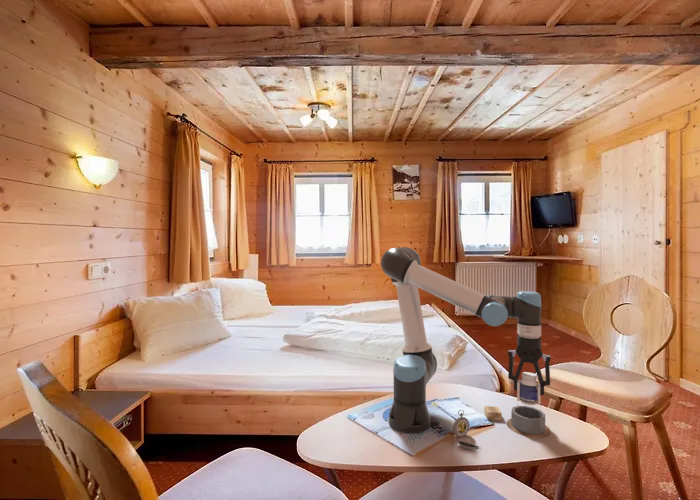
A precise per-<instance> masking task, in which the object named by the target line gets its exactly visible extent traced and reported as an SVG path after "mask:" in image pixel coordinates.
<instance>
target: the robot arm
mask: <svg viewBox="0 0 700 500" xmlns="http://www.w3.org/2000/svg"><path fill="white" fill-rule="evenodd" d="M380 268H381V270H382V271H383V273H384V274H385V275H386V276H387V277H389V278H390V281H391V283H392V284H393V285H394V286H395V288H396V293H397V299H398V300H397V301H398V306H399V313H400V320H401V325H402V331H403V332H402V333H403V337H404V338H403V339H404V346H403V348H402V350H401V351H402V355H401V356H399V357H397V358H396V359H395V360H394V362H393V367H392V370H393V402H392V404H391V408H390V411H389V413H388V423H389V426H390V427H391V428H393V429H394V430H396V431H397V432H398V431H399V432H401V433H405V434H420V433H423V432H426V431H428V430H429V429H430V428H431V426H432V425H431V423H432V422H431V421H432V420H431V416H430V413H429V409H428V406H427V403H426V401H427V400H426V398H427V384H428V383H429V381H430V380H432V378H433V377H434V376H435V374H436V372H437V368H438V361H437V357H436V355H435V354H434V352H433V349H432V345H431V344H430V343H428V342H427V341H428V340H427V335H426V329H425V325H424V324H425V323H424V322H425V321H424V317H423V311H422V305H421V299H420V293H419V292H420V291H419V289H420V290H423V291H424V292H426V293H429V294H431V295H433V296H435V297H436V298H439V299H441V300H444V301H446V302H448V303H449V304H451V305H453V306H455V307H457V308H459V309H461V310H464V311H466V312H468V313H470V314H472V315H475V316H476V317H478V318H479V319H480V318H481V319H482V320H483V321H484V322H485V323H486V324H487V326H492V327H498V326H501V325H503V324H504V323H505V322H506V321H507V320H508V318H510V319H511V318H512V319H517V322H516V323H517V324H516V328H517V330H516V334H518V335H517V336H516V338H517V339H516V342H517V343H516V344H517V345H516V346H517V347H516V349H514V350H512V349H509V350H508V352H507V354H508V358H509V360H508V375H507V376H508V377H507V378H508V379H509V380H512V381H513V390H514V391H515V392H517V393H516V400H517V402H521V401H520V380H521V379H520V380H519V378H520V375H521V373H522V368H523V367H524V364H525V363H529V364H533V367H534V370H535V374H536V377H537V379H538V382H537V383H538V404H537V405H538V406H541V397H542V396H545V386H550V385H551V372H550V369H551V368H550V362H551V359H552V355H550V354H545V353H543V351H542V338H541V337H542V296H541V294H540V293H539V292H537V291H531V290H528V291H527V290H521V291H518V292H517V295H516V296H507V295H506V296H503V295H493V294H491V295H486V294H483V293H482V292H480V291H477V290H475V289H472V288H471V287H468V286H466V285H463V284H462V283H459V282H457V281H456V280H452V279H451V278H449V277H447V276H444V275H442V274H441V273H438V272H436V271H433V270H431V269H429V268H427V267H424V266H423V265H421V257H420V255H419V253H418V252H417V251H416V250H414V249H412V248H410V247H406V246H402V247H393V248H389V249H387V250H386V251H385V252H383V254H382V255H381V258H380ZM516 355H517V356H518V358H519V360H520V361H519V363H518V367H517V370H516V373H515V375H514V363H515V361H514V360H515V356H516ZM541 358H542V360H543V362H544V370H545V380H544V377H543V374H542V370H541V368H540V364H539V361H540V359H541Z"/></svg>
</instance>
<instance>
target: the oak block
mask: <svg viewBox="0 0 700 500" xmlns="http://www.w3.org/2000/svg"><path fill="white" fill-rule="evenodd" d="M483 408H484V409H483V410H484V412H483V413H484V416H485V418H486V419H487V420H489V421H491V420H492V421H494V420H495V421H502V419H503V417H502V416H503V415H502V414H503V413H502V411H501V410H500V408H499V406H491V405H488V406H487V405H484V407H483Z"/></svg>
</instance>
